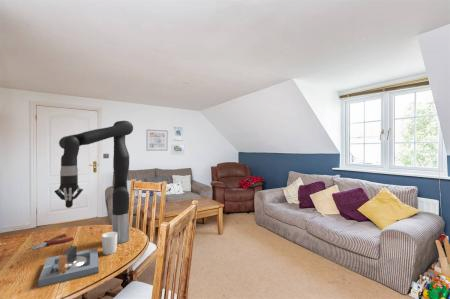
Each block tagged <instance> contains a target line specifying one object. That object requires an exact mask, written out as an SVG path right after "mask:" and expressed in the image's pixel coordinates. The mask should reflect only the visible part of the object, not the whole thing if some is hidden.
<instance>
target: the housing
mask: <svg viewBox="0 0 450 299" xmlns="http://www.w3.org/2000/svg"><path fill="white" fill-rule="evenodd" d="M98 253H99V252H98V248H93V249H87V250H81V251H77V256H83V257H86V266H84V267H79V268H75V269H70V270H67V271H66V272H65V273H58V272H57V264H58V258H59V257H60V256H61V255H62V254H60V255H56V256H50V257H46V259H45V263H44V265H43V267H42V270H41V273H40V275H39V278H38V283H37V284H38V285H37V286H38V288H42V287H46V286H50V285H54V284H55V285H56V284H59V283H62V282H67V281H70V280H74V279H79V278H80V279H81V278H82V277H83V278H84V277H87V276H88V277H89V276H92V275H95V274H99V272H100V270H99V268H100V267H99V254H98Z"/></svg>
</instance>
